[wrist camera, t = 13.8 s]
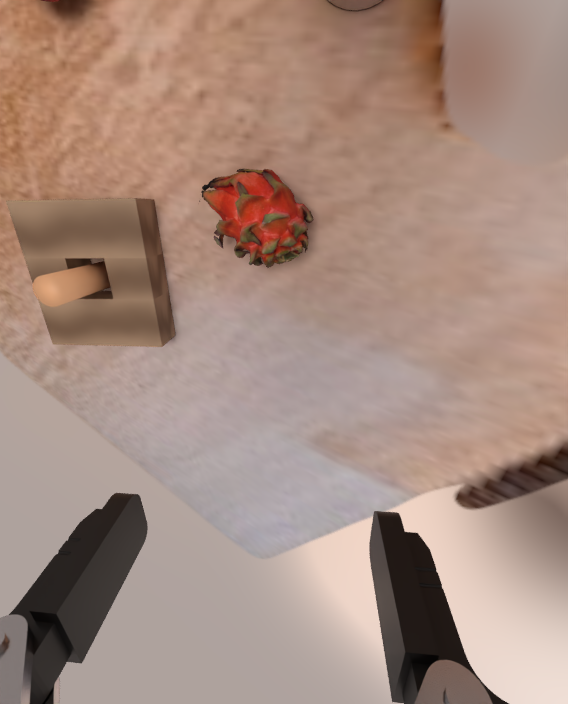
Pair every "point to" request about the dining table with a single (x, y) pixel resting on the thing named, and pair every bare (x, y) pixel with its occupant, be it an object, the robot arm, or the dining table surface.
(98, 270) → the peg
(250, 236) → the dragon fruit
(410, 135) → the dining table surface
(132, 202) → the hole block
